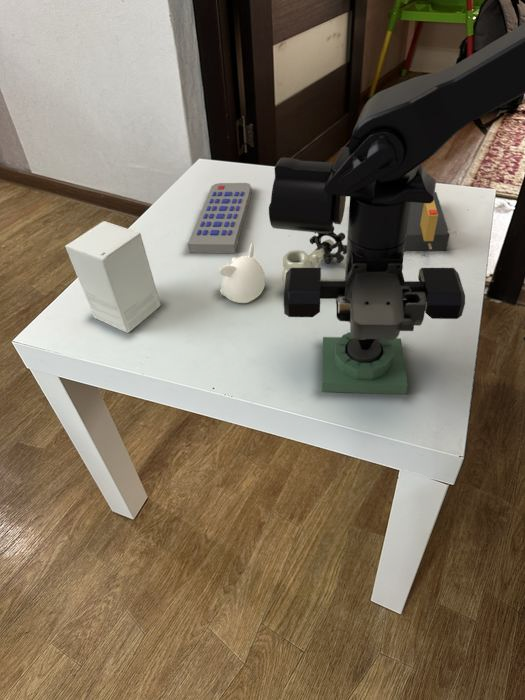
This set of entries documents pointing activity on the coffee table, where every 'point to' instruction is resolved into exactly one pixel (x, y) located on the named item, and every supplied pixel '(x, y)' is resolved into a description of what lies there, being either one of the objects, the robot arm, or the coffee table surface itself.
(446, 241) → the panel
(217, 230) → the remote control
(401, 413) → the coffee table surface
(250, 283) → the figurine
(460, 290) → the robot arm
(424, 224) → the tap handle
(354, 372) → the button box
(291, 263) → the valve
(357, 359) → the button
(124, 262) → the white packaging box
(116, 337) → the coffee table surface
